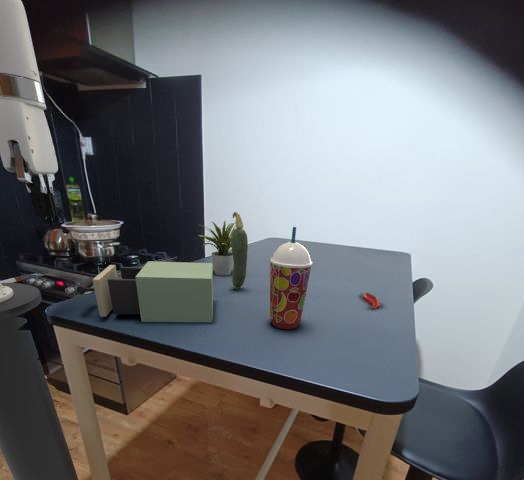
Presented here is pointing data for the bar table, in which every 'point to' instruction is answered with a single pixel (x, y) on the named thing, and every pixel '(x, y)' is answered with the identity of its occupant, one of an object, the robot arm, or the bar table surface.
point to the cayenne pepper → (371, 300)
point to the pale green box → (175, 292)
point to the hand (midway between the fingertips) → (47, 216)
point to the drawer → (114, 290)
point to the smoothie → (288, 283)
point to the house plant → (221, 249)
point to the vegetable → (239, 252)
